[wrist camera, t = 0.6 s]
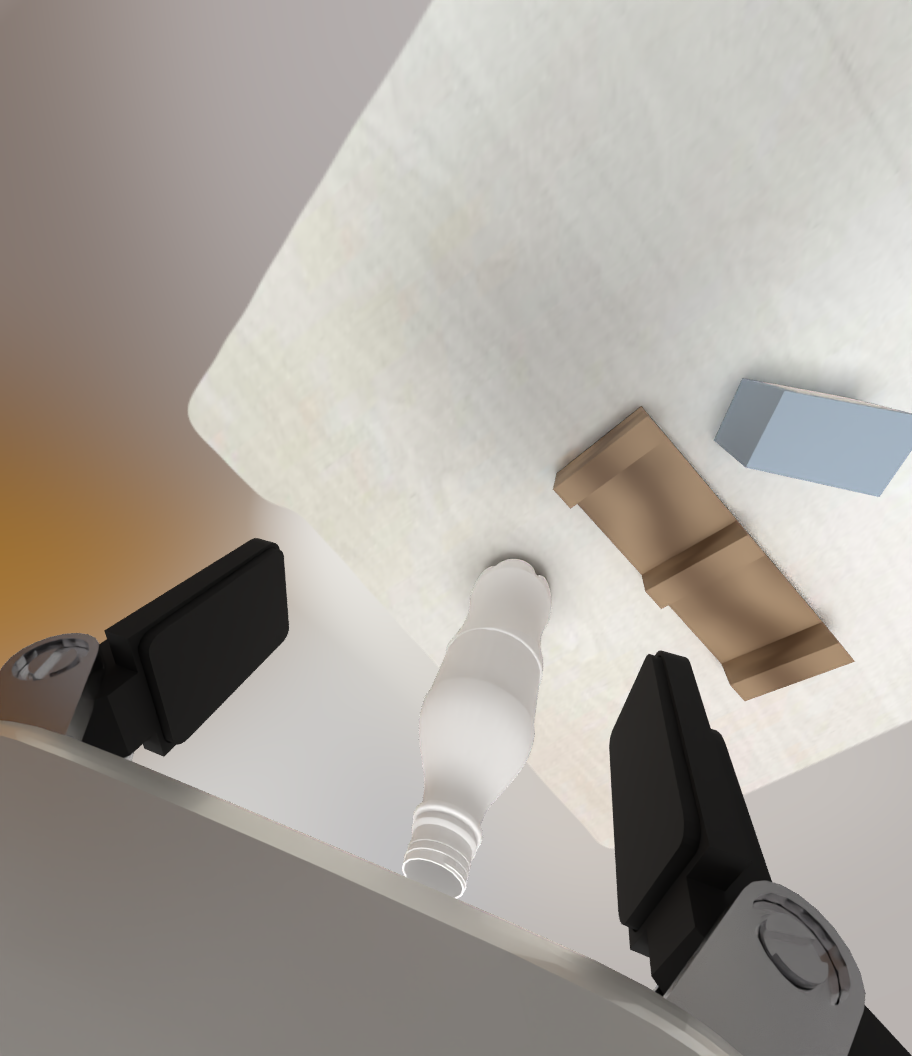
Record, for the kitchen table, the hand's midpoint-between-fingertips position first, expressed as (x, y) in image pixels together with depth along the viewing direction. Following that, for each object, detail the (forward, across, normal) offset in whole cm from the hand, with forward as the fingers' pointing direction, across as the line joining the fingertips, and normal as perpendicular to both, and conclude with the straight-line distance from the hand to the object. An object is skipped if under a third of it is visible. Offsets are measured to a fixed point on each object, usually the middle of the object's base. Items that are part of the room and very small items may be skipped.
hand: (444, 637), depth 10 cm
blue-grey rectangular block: (+27, -16, -4) cm, 31 cm away
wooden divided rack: (+26, -14, +8) cm, 31 cm away
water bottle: (+27, -1, +15) cm, 31 cm away
